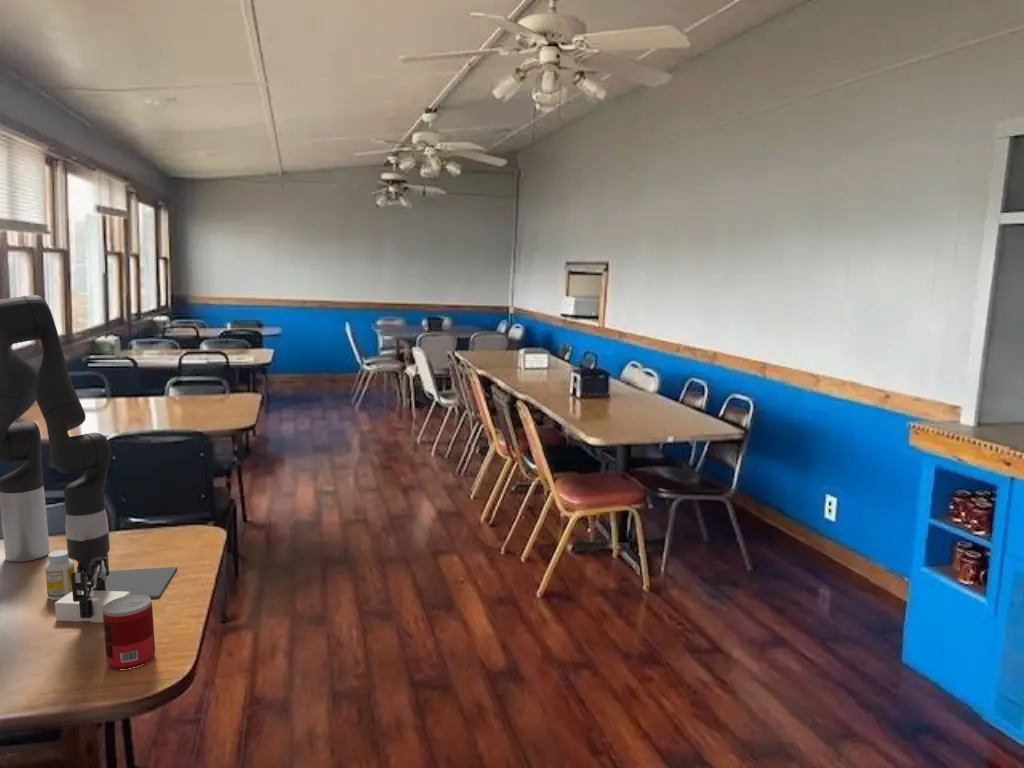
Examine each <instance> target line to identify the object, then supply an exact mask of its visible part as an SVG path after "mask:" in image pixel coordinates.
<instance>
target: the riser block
mask: <svg viewBox="0 0 1024 768" xmlns="http://www.w3.org/2000/svg"><path fill="white" fill-rule="evenodd" d="M77 592H78V591H77ZM82 595H83V591H82ZM129 595H130V592H122V591H98V590H93V593H92V603H93V616H92V617H91V618H81V617H80V606H79V602H74V601H73V593H72V592H70V593H69V594H67V595H66V596H64V597H63V598H61V599H60V600H56V601H55V602H54V610H55V619H56V621H57V622H59V621H61V622H63V621H64V622H79V621H90V622H89V623H101V622H103V607H104V605H105V604H107V603H108V602H110V601H112V600H114V599H117V598H120V597H124V596H129Z"/></svg>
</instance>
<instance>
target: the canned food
mask: <svg viewBox="0 0 1024 768" xmlns="http://www.w3.org/2000/svg"><path fill="white" fill-rule="evenodd" d="M153 611H154V610H153V602H152V599H151V598H150V597H148V596H145V595H129V596H124V597H120V598H117V599H114V600H112V601H110V602H108V603H107V604H105V605H104V607H103V622H104V623H103V630H104V631H103V632H104V643H105V653H106V654H105V655H106V656H105V657H106V663H107V665H108V667H109V668H110V669H111V668H113V669H112V670H114V669H117V670H116V671H121V670H120V669H129V668H133V667H137V666H140V665H142V664H145V663H146V662H148V661H150V660H151V659H152V658H153V659H154V657H155V654H156V646H155V630H154V629H155V628H154V615H153V614H154V613H153ZM153 659H152V660H153ZM152 660H151V661H152ZM151 661H150V662H151ZM148 663H149V662H148ZM145 665H146V664H145Z"/></svg>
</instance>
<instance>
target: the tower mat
mask: <svg viewBox="0 0 1024 768" xmlns="http://www.w3.org/2000/svg"><path fill="white" fill-rule="evenodd" d="M177 569H178V567H177V566H171V567H154V568H152V567H151V568H136V569H120V570H119V569H118V570H109V576H106V578H107V581H106V582H104V583H105V586H106V591H122V592H130V595H145V596H148V597H150V598H153V599H160V598H161V596H162V594H163V592H164V591H165V589H166V587H167V586H168V584H169V583H170V582H171V580H172V578H173V577H174V575H175V573H176V572H177Z"/></svg>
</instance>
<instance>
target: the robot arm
mask: <svg viewBox="0 0 1024 768" xmlns="http://www.w3.org/2000/svg"><path fill="white" fill-rule="evenodd" d="M56 326H57V325H56V322H55V320H54V316H53V313H52V310H51V308H50V307H49V304H48V302H47V301H46V299H45V298H44V297H42V296H40V295H39V294H38V295H37V294H35V295H33V294H32V295H31V294H30V295H22V296H17V297H16V296H15V297H9V298H1V299H0V464H2V463H3V464H4V463H13V462H21V461H25V462H24V463H23V464H22V465H21V466H20V467H18V468H17V469H15V470H13V471H11V472H9V473H7V474H5V475H3V476H1V477H0V517H1V526H2V535H3V545H4V548H3V549H4V555H5V561H8V562H12V563H21V562H22V563H23V562H29V561H34V560H35V561H36V560H38V559H41V558H43V557H46V556H47V555H48V554H49V553H51V552H50V550H51V549H50V541H49V530H48V529H49V528H48V520H47V518H48V516H47V508H46V507H47V506H46V498H45V488H44V476H43V475H44V474H43V466H42V465H43V464H42V463H43V461H42V437H41V432H40V431H41V430H40V428H39V425H38V424H37V423H36V422H35V421H19V422H18V421H17V420H18V419H20V418H21V416H23V415H24V414H25V413H27V412H28V410H29V409H30V408H32V406H33V405H34V403H35V402H37V405H38V408H39V410H40V413H41V415H42V417H43V420H44V422H45V424H46V431H47V437H48V446H49V449H48V450H49V459H50V463H51V465H52V466H53V467H54V469H55V470H56V471H58V472H59V473H62V474H67V475H68V474H73V473H76V472H82V471H83V474H82V476H81V477H80V478H78V479H76V480H74V481H72V482H70V483H69V484H67V485H66V486H65V487H64V492H63V495H64V509H65V521H64V523H65V524H64V525H65V539H66V548H67V551H68V557H69V559H70V560H72V561H73V560H74V561H76V562H77V567H76V570H75V573H72V574H71V582H72V593H73V601H74V602H79V606H80V617H81V618H91V617H92V616H93V603H92V593H93V590H98V591H106V586H105V583H104V582H106V581H107V578H106V576H109V571H110V567H109V566H110V565H109V564H110V563H109V553H110V550H111V546H110V544H111V543H110V534H109V520H108V519H109V518H108V514H107V511H106V509H107V508H106V500H105V499H106V498H105V485H106V480H107V474H108V471H109V466H110V462H111V457H112V456H111V455H112V450H111V444H110V442H109V440H108V439H107V437H106V436H105V435H104V434H102V433H100V432H91V433H84V434H78V435H73V436H70V434H69V433H68V432H69V431H71V430H74V429H75V428H78V427H79V426H81V425H82V424H83V423H84V422H85V421H86V413H85V410H84V408H83V406H82V403H81V401H80V398H79V396H78V393H77V392H76V389H75V388H74V385H73V382H72V379H71V377H70V373H69V371H68V367H67V361H66V358H65V355H64V351H63V350H64V349H63V347H62V343H61V340H60V337H59V332H58V329H57V327H56ZM38 340H39V341H40V342H41V345H42V353H43V354H42V360H41V364H40V367H39V370H38V372H37V370H36V368H34V366H33V365H32V364H31V363H30V362H29V361H27V359H25V358H23V356H21V355H19V354H18V353H17V352H16V351H14V349H13V348H12V345H15V344H19V343H25V342H32V341H38ZM16 421H17V422H16ZM77 591H78V592H77ZM82 591H83V595H82Z"/></svg>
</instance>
